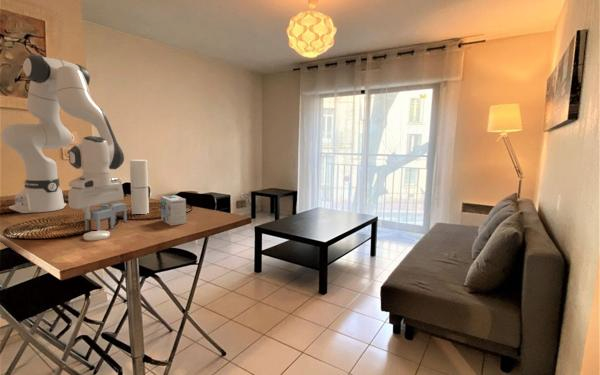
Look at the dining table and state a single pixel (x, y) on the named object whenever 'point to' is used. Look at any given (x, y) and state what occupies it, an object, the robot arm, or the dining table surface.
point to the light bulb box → (173, 210)
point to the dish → (96, 235)
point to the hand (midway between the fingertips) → (99, 215)
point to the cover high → (117, 210)
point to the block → (102, 224)
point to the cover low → (100, 217)
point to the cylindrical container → (139, 186)
